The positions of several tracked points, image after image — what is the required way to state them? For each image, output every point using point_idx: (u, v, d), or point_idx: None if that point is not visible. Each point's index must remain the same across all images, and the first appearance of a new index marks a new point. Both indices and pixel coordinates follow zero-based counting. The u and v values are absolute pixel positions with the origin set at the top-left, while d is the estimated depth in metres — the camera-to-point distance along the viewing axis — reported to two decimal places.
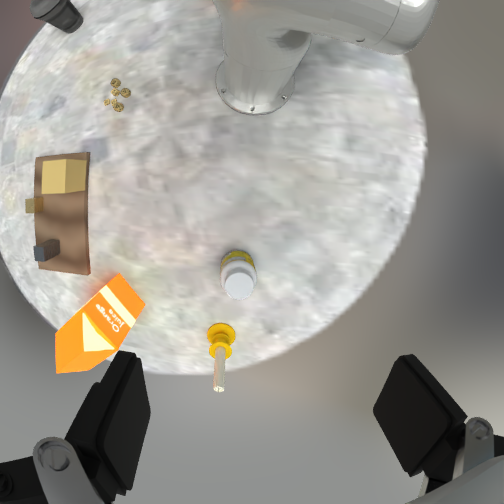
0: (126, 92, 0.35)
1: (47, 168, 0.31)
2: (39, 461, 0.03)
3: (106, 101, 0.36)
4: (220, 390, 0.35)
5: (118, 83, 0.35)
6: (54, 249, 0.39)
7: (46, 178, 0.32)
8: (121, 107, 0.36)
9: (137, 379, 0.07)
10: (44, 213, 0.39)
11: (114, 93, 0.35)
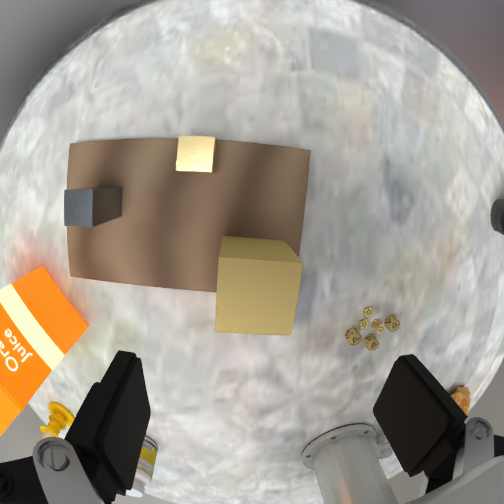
0: (371, 348, 0.27)
1: (281, 278, 0.17)
2: (39, 461, 0.03)
3: (369, 311, 0.27)
4: None
5: None
6: None
7: (258, 275, 0.17)
8: None
9: (137, 379, 0.07)
10: (177, 175, 0.21)
11: (377, 330, 0.26)
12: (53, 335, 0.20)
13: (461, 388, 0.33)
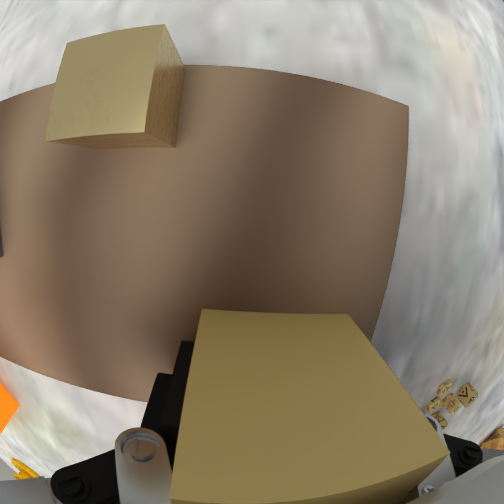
0: None
1: (380, 496, 0.03)
2: (123, 455, 0.04)
3: (446, 389, 0.13)
4: None
5: (462, 403, 0.13)
6: None
7: None
8: None
9: None
10: (86, 160, 0.07)
11: (450, 411, 0.13)
12: None
13: (501, 430, 0.19)
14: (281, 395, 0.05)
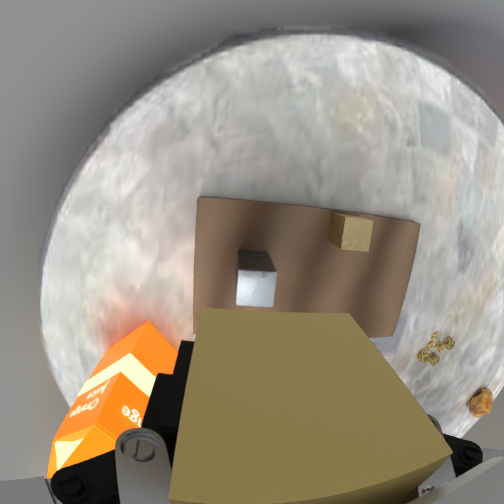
0: (434, 363, 0.29)
1: (382, 496, 0.03)
2: (123, 455, 0.04)
3: (436, 336, 0.29)
4: None
5: (446, 347, 0.29)
6: None
7: None
8: None
9: None
10: (323, 244, 0.24)
11: (440, 349, 0.29)
12: None
13: (485, 390, 0.35)
14: (282, 394, 0.05)
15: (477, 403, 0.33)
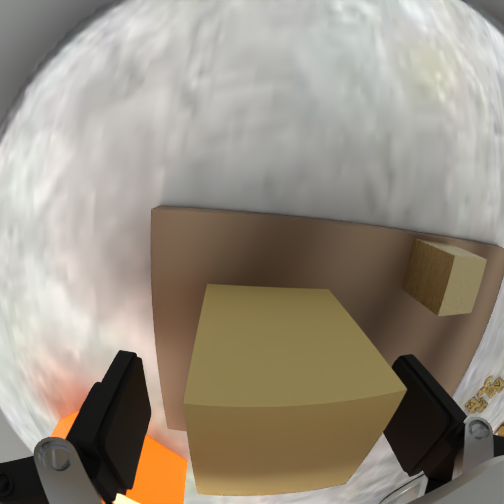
0: (481, 411, 0.18)
1: (350, 426, 0.05)
2: (40, 461, 0.03)
3: (489, 381, 0.17)
4: None
5: (496, 390, 0.18)
6: None
7: (295, 431, 0.05)
8: (469, 411, 0.18)
9: (138, 379, 0.07)
10: (392, 296, 0.12)
11: (490, 395, 0.17)
12: None
13: None
14: (268, 339, 0.07)
15: None
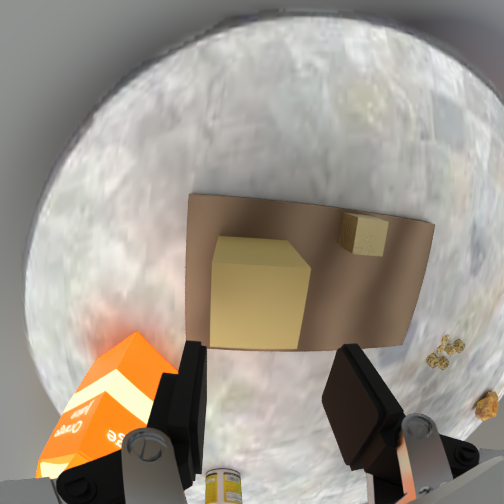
0: (443, 368, 0.27)
1: (285, 285, 0.14)
2: (130, 455, 0.04)
3: (446, 339, 0.26)
4: None
5: (456, 350, 0.27)
6: None
7: (258, 282, 0.14)
8: (431, 365, 0.27)
9: (205, 366, 0.08)
10: (330, 247, 0.21)
11: (450, 353, 0.26)
12: None
13: (491, 392, 0.33)
14: (248, 251, 0.17)
15: (483, 407, 0.31)
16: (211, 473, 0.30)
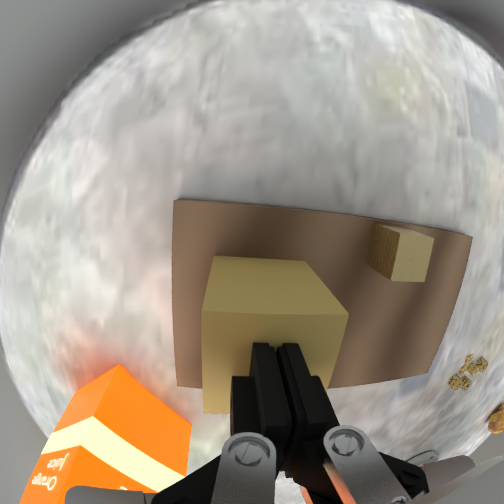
0: (465, 389, 0.22)
1: (311, 339, 0.09)
2: (234, 463, 0.05)
3: (470, 359, 0.21)
4: None
5: (479, 369, 0.22)
6: None
7: (272, 338, 0.09)
8: (453, 387, 0.22)
9: None
10: (358, 269, 0.16)
11: (473, 373, 0.21)
12: (167, 460, 0.15)
13: None
14: (256, 284, 0.12)
15: (497, 421, 0.26)
16: None
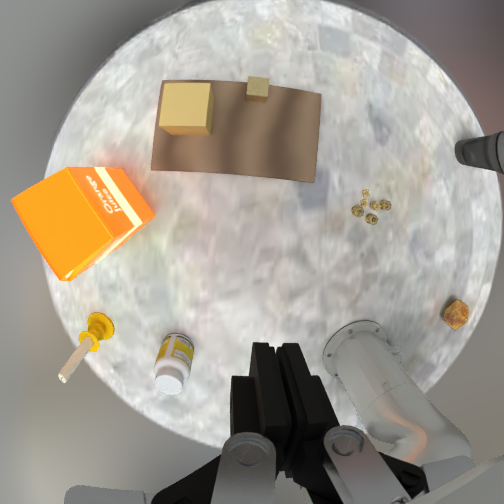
0: (372, 222, 0.37)
1: (197, 91, 0.25)
2: (234, 463, 0.05)
3: (367, 193, 0.37)
4: (60, 378, 0.26)
5: (384, 209, 0.37)
6: None
7: (184, 90, 0.25)
8: (356, 215, 0.37)
9: None
10: (241, 102, 0.32)
11: (374, 206, 0.37)
12: (134, 208, 0.31)
13: None
14: None
15: (451, 310, 0.42)
16: (166, 337, 0.40)
